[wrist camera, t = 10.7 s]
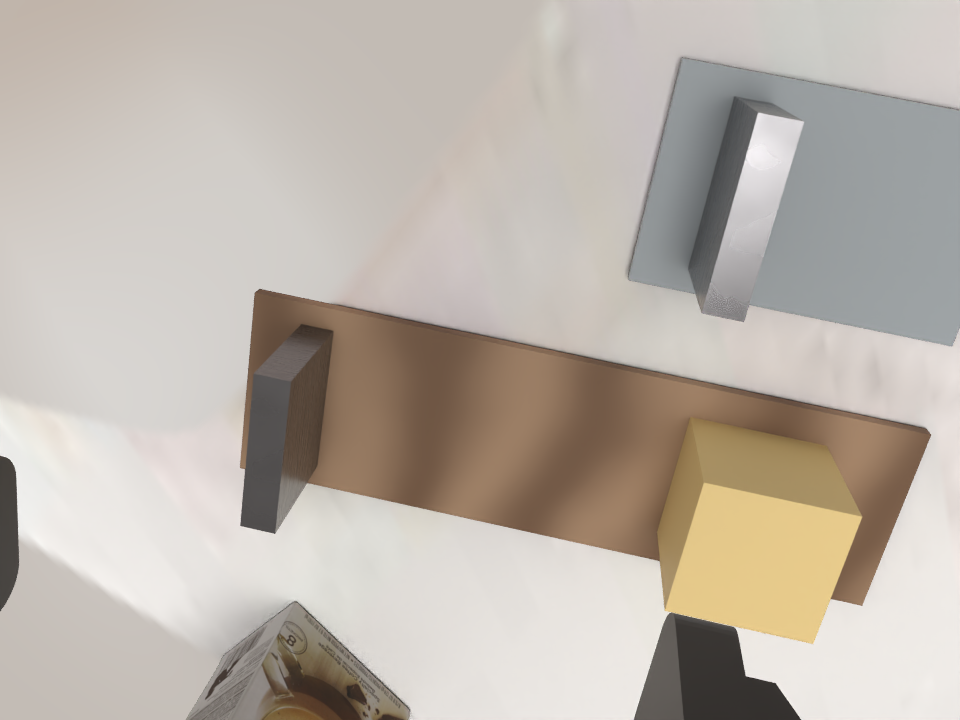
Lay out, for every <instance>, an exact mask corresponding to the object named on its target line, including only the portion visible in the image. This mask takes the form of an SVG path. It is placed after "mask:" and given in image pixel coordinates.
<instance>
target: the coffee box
mask: <svg viewBox="0 0 960 720" xmlns="http://www.w3.org/2000/svg"><path fill="white" fill-rule="evenodd" d="M409 715H410V711H409V709H408V708H407V707H406V706H405V705H404V704H403V703H402V702H401V701H400V700H398V699H397V698H396V697H395V696H394V695H393V694H392V693H391V692H390V691H389V690H388V689H387V688H386V687H385V686H384V685H383V684H382V683H380V682H379V681H378V680H377V679H376V678H375V677H374V676H373V675H372V674H371V673H370V672H369V671H368V670H367V669H366V668H365V667H364V666H363V665H362V664H361V663H360V662H359V661H358V660H356V659H355V658H354V657H353V656H352V655H351V654H350V653H349V652H348V651H347V650H346V649H345V648H344V647H343V646H342V645H341V644H340V643H339V642H338V641H337V640H335V639H334V638H333V637H332V636H331V635H330V634H329V633H328V632H327V631H326V630H325V629H324V628H323V627H322V626H321V625H320V624H319V623H318V622H317V621H316V620H315V619H314V618H313V617H312V616H310V615H309V614H308V613H307V612H306V611H305V610H304V609H303V608H302V607H301V606H300V605H299V604H298V603H296V602H294V603H292V604H291V605H290V606H288V607H287V608H286V609H284V610H283V611H282V612H280V613H279V614H278V615H276V616H275V617H274V618H272V619H271V620H270V621H268V622H267V623H266V624H264V625H263V626H262V627H260V628H259V629H258V630H256V631H255V632H254V633H252V634H251V635H250V636H248V637H247V638H246V639H244V640H243V641H242V642H240V643H239V644H238V645H237V646H235V647H234V648H233V649H231V650H230V651H229V652H227V653H226V654H225V655H224V656H223V657H222V659H221V661H220V663H219V665H218V667H217V669H216V671H215V672H214V674H213V676H212V677H211V679H210V681H209V682H208V684H207V686H206V687H205V689H204V691H203V693H202V694H201V695H200V697H199V699H198V700H197V702H196V704H195V706H194V707H193V709H192V710H191V712H190V713H189V715H188V717H187V719H186V720H408V719H409Z"/></svg>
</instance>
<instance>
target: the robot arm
mask: <svg viewBox="0 0 960 720" xmlns="http://www.w3.org/2000/svg"><path fill="white" fill-rule="evenodd" d="M18 568H19V547H18V516H17V486H16V472H15V468H14V465H13V463H12V462H11V461H10V460H9V459H8V458H6V457H2V456H0V611H1V609H2V608H3V607H4V605H5V603H6V602H7V600H8V598H9V596H10V594H11V592H12V590H13V587H14V584H15V581H16V578H17V574H18ZM634 720H801V719H800V717H799V716H798V715H797V713H796V712H795V710H794V709H793V708H792V706H791V705H790V703H789V702H788V700H787V699H786V698H785V696H784V695H783V693H782V692H781V690H780V689H779V688H778V686H777V685H776V683H772V682H768V681H763V680H759V679H755V678H750V677H746V676H745V671H744V665H743V660H742V654H741V649H740V643H739V638H738V634H737V631H736V629H735V628H734V627H731V626H727V625H723V624H718V623H714V622H710V621H705V620H701V619H697V618H692V617H688V616H684V615H679V614H675V613H669V615H668V616H667V618H666V620H665V622H664V625H663V627H662V630H661V634H660V637H659V640H658V643H657V647H656V650H655V653H654V656H653V659H652V663H651V666H650V669H649V672H648V675H647V679H646V682H645V685H644V688H643V691H642V695H641V698H640V701H639V704H638V707H637V711H636V714H635V718H634Z"/></svg>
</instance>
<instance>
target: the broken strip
mask: <svg viewBox="0 0 960 720" xmlns="http://www.w3.org/2000/svg"><path fill="white" fill-rule="evenodd" d="M628 280H630V281H635V282H640V283H644V284H649V285H654V286H659V287H664V288H669V289H674V290H679V291H684V292H688V293H693V294H696V297H697V300H698V303H699V306H700V309H701V313H703V314H708V315H713V316H718V317H722V318H727V319H732V320H737V321H742V322H744V320H745V317H746V313H747V310H748V307H749V305H752V306H757V307H762V308H767V309H772V310H776V311H781V312H786V313H791V314H796V315H801V316H806V317H811V318H815V319H820V320H825V321H830V322H835V323H840V324H845V325H850V326H855V327H859V328H864V329H869V330H874V331H879V332H884V333H889V334H894V335H899V336H903V337H908V338H913V339H918V340H923V341H928V342H933V343H938V344H943V345H947V346H953V343H954V341H955V338H956V336H957V333H958V330H959V328H960V110H956V109H951V108H946V107H940V106H935V105H930V104H925V103H919V102H914V101H909V100H904V99H898V98H893V97H888V96H883V95H877V94H872V93H867V92H862V91H856V90H851V89H846V88H841V87H835V86H830V85H825V84H820V83H814V82H809V81H804V80H799V79H793V78H788V77H783V76H778V75H772V74H767V73H762V72H756V71H751V70H746V69H741V68H735V67H730V66H725V65H720V64H714V63H709V62H704V61H699V60H693V59H688V58H683V57H682V58H681V62H680V67H679V71H678V75H677V79H676V83H675V87H674V91H673V95H672V99H671V103H670V107H669V111H668V115H667V119H666V124H665V128H664V132H663V136H662V140H661V144H660V148H659V152H658V156H657V160H656V164H655V168H654V172H653V177H652V181H651V185H650V189H649V193H648V197H647V201H646V205H645V209H644V213H643V217H642V221H641V225H640V229H639V234H638V238H637V242H636V246H635V250H634V254H633V258H632V262H631V266H630V270H629V274H628Z"/></svg>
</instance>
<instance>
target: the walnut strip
mask: <svg viewBox="0 0 960 720" xmlns="http://www.w3.org/2000/svg"><path fill="white" fill-rule="evenodd" d="M690 417H693V418H698V419H702V420H707V421H712V422H716V423H721V424H726V425H731V426H735V427H740V428H745V429H749V430H754V431H759V432H764V433H768V434H773V435H778V436H782V437H787V438H792V439H797V440H801V441H806V442H811V443H815V444H820V445H825V446H827V447H828V449H829V451H830V453H831V455H832V457H833V459H834V461H835V463H836V465H837V467H838V469H839V471H840V473H841V475H842V477H843V479H844V481H845V483H846V485H847V487H848V489H849V491H850V493H851V495H852V497H853V499H854V501H855V503H856V505H857V507H858V509H859V511H860V513H861V515H862V519H861V522H860V524H859V527H858V529H857V532H856V534H855V537H854V540H853V542H852V545H851V547H850V550H849V553H848V555H847V558H846V560H845V563H844V565H843V568H842V571H841V573H840V576H839V578H838V581H837V584H836V586H835V589H834V591H833V594H832V596H831V599H834V600H839V601H843V602H848V603H852V604H857V605H861V606H862V605H863V602H864V600H865V597H866V595H867V592H868V590H869V587H870V585H871V582H872V580H873V577H874V575H875V572H876V570H877V567H878V565H879V563H880V560H881V558H882V555H883V553H884V550H885V548H886V545H887V543H888V540H889V538H890V535H891V533H892V530H893V528H894V525H895V523H896V520H897V518H898V516H899V513H900V511H901V508H902V506H903V503H904V501H905V498H906V496H907V493H908V491H909V488H910V486H911V483H912V481H913V478H914V476H915V474H916V471H917V469H918V466H919V464H920V461H921V459H922V456H923V454H924V451H925V449H926V446H927V444H928V441H929V439H930V436H931V434H930V433H929V432H928V430H927V429H924V428H920V427H915V426H910V425H905V424H901V423H896V422H891V421H886V420H881V419H877V418H872V417H867V416H862V415H858V414H853V413H848V412H843V411H839V410H834V409H829V408H824V407H820V406H815V405H810V404H805V403H800V402H796V401H791V400H786V399H781V398H777V397H772V396H767V395H762V394H758V393H753V392H748V391H743V390H739V389H734V388H729V387H724V386H719V385H715V384H710V383H705V382H700V381H696V380H691V379H686V378H681V377H677V376H672V375H667V374H662V373H657V372H653V371H648V370H643V369H638V368H634V367H629V366H624V365H619V364H615V363H610V362H605V361H600V360H596V359H591V358H586V357H581V356H576V355H572V354H567V353H562V352H557V351H553V350H548V349H543V348H538V347H534V346H529V345H524V344H519V343H515V342H510V341H505V340H500V339H495V338H491V337H486V336H481V335H476V334H472V333H467V332H462V331H457V330H453V329H448V328H443V327H438V326H434V325H429V324H424V323H419V322H414V321H410V320H405V319H400V318H395V317H391V316H386V315H381V314H376V313H372V312H367V311H362V310H357V309H353V308H348V307H343V306H338V305H333V304H329V303H324V302H319V301H314V300H309V299H305V298H300V297H295V296H291V295H286V294H281V293H276V292H271V291H266V290H262V289H259V290H258V291H256V292H255V296H254V308H253V321H252V332H251V344H250V356H249V368H248V379H247V391H246V403H245V415H244V427H243V439H242V450H241V462H240V468H242V469H245V479H244V490H243V502H242V513H241V525H240V526H243V527H248V528H252V529H257V530H261V531H266V532H270V533H274V534H275V533H276V532H277V530H278V528H279V527H280V525H281V524H282V522H283V520H284V519H285V517H286V516H287V514H288V512H289V511H290V509H291V508H292V506H293V505H294V503H295V501H296V500H297V498H298V497H299V495H300V493H301V492H302V490H303V489H304V487H305V485H306V484H307V483H310V484H315V485H319V486H324V487H328V488H333V489H337V490H342V491H346V492H351V493H355V494H360V495H364V496H369V497H373V498H378V499H382V500H387V501H391V502H396V503H400V504H405V505H409V506H414V507H419V508H423V509H428V510H432V511H437V512H441V513H446V514H450V515H455V516H459V517H464V518H468V519H473V520H477V521H482V522H486V523H491V524H495V525H500V526H504V527H509V528H513V529H518V530H522V531H527V532H531V533H536V534H541V535H545V536H550V537H554V538H559V539H563V540H568V541H572V542H577V543H581V544H586V545H590V546H595V547H599V548H604V549H608V550H613V551H617V552H622V553H626V554H631V555H635V556H640V557H644V558H649V559H653V560H658V561H660V556H659V546H658V535H657V531H658V527H659V524H660V520H661V517H662V513H663V510H664V506H665V503H666V500H667V496H668V493H669V489H670V486H671V482H672V479H673V475H674V472H675V469H676V465H677V462H678V458H679V455H680V451H681V448H682V444H683V441H684V438H685V434H686V431H687V427H688V424H689V420H690Z"/></svg>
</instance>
